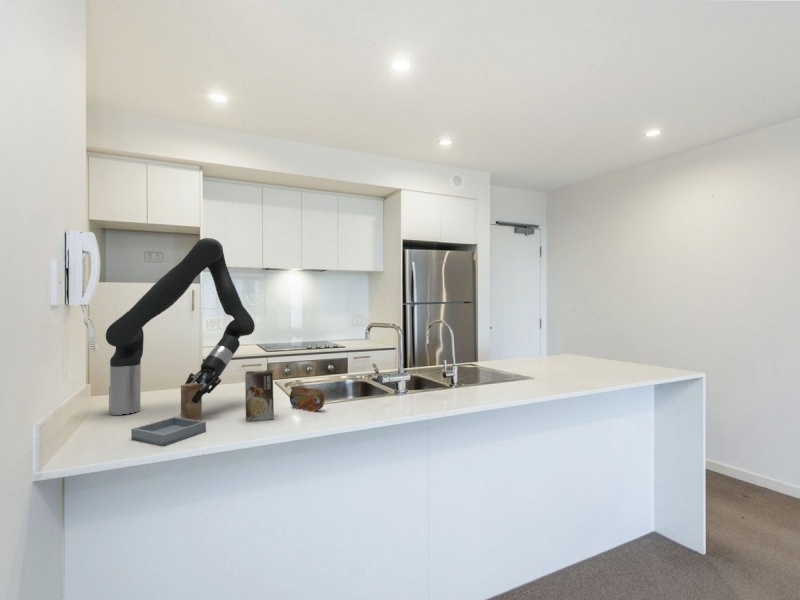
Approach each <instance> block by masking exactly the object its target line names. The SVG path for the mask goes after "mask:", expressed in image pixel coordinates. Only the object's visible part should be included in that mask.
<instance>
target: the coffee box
mask: <svg viewBox="0 0 800 600" xmlns="http://www.w3.org/2000/svg"><path fill="white" fill-rule="evenodd" d="M244 377H245V378H244V380H245V387H244V389H245V390H244V391H245V422H257V421H266V420H267V421H269V420H274V418H275V417H274V416H275V415H274V414H275V413H274V411H275V409H274V405H275V404H274V403H275V401H274V370H272V369H271V370H269V369H268V370H250V371H249V370H248V371H246V372H245V375H244Z"/></svg>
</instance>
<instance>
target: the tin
mask: <svg viewBox="0 0 800 600" xmlns="http://www.w3.org/2000/svg"><path fill="white" fill-rule="evenodd" d="M289 402H290V404H291V407H293V409H295V408H296V409H295V410H298V409H303V410H302V411H305V410H308V411H307V412H312V411H314V412H317V411H319V410H321V409H322V408H323V407H324V405H325V394H324V392H323V390H321V389H320V388H317V387H308V386H295V387H293V388H292V389H291V391H290V393H289Z"/></svg>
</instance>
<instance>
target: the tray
mask: <svg viewBox="0 0 800 600" xmlns="http://www.w3.org/2000/svg"><path fill="white" fill-rule="evenodd" d="M130 430H131V434H130V435H131V436H130V437H131V440H133V441H138V442H143V443H148V444H152V445H156V446H160V447H161V446H162V447H165V446H166V447H167V446H169V445H171V444H175V443H177V442H180V441H183V440H186V439H188V438H191V437H195V436H196V435H199V434H200V435H201V434H203V433H206V432H207V421H203V420H192V419H186V418H181V416H179V417H178V416H172V417H169V418H166V419H161V420H159V421H155V422H151V423H148V424H144V425H141V426H138V427H134V428H131V429H130Z"/></svg>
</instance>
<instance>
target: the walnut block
mask: <svg viewBox="0 0 800 600" xmlns="http://www.w3.org/2000/svg"><path fill="white" fill-rule="evenodd" d="M200 387H201V384H198V383H196V382H195V383H190V384H185V383H184V384H181V385H180V418H186V419H192V420H198V419H200V420H202V419H203V416H202V415H203V414H202V412H203V411H202V409H203V408H202V406H203V405H202V404H203V403H202V402H203V401H202V400H203V396H202V397H201V399H200V400H199V401H198V402H197V403H194V402H193V401H192V398H193V397H194V395H195V394H196V393H197V391H199V388H200ZM201 418H202V419H201ZM198 421H199V420H198Z"/></svg>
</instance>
